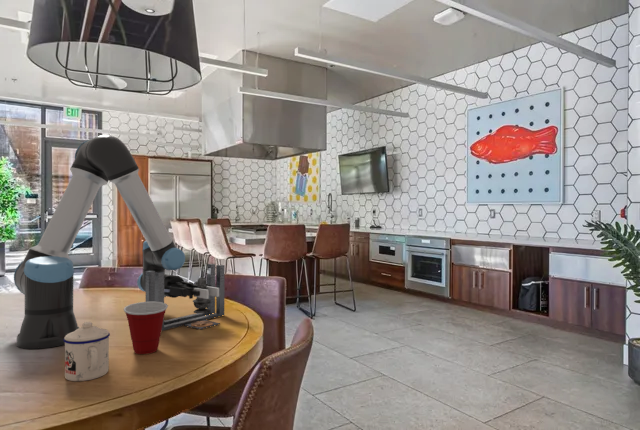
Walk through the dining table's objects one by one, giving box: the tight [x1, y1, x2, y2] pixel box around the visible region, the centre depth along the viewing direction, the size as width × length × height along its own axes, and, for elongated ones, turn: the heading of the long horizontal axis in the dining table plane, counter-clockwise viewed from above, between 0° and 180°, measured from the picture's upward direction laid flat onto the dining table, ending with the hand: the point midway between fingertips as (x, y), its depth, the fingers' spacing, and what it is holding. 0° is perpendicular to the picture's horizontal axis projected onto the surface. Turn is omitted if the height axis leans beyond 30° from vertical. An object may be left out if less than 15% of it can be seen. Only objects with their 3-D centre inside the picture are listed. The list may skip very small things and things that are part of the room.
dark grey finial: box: [192, 274, 211, 314], centre depth 136 cm, size 6×6×12 cm
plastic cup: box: [123, 301, 169, 355], centre depth 110 cm, size 11×11×12 cm
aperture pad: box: [183, 319, 221, 330], centre depth 136 cm, size 8×8×1 cm
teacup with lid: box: [64, 321, 111, 382], centre depth 93 cm, size 12×9×12 cm
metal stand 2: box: [155, 264, 226, 332], centre depth 140 cm, size 2×26×18 cm, turn 143°
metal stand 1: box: [145, 263, 216, 325], centre depth 143 cm, size 2×26×18 cm, turn 143°
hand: (212, 293), depth 133 cm, fingers closed on dark grey finial, 4 cm apart
